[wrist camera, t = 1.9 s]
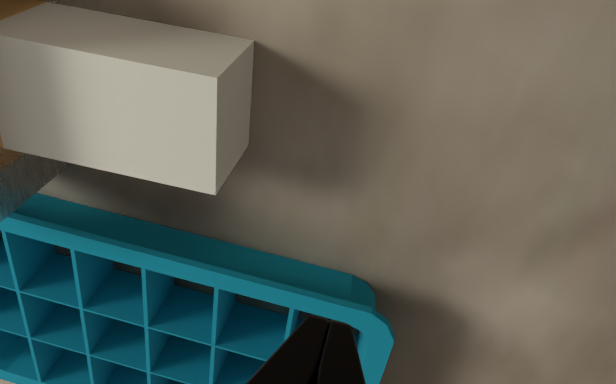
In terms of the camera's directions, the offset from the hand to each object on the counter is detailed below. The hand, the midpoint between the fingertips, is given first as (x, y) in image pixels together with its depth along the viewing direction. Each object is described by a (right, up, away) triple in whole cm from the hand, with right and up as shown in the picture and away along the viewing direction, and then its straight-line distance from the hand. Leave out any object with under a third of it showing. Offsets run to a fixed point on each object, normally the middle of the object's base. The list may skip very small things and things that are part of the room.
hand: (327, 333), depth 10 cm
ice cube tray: (-7, -3, +16) cm, 18 cm away
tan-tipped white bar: (-7, +7, +9) cm, 14 cm away
